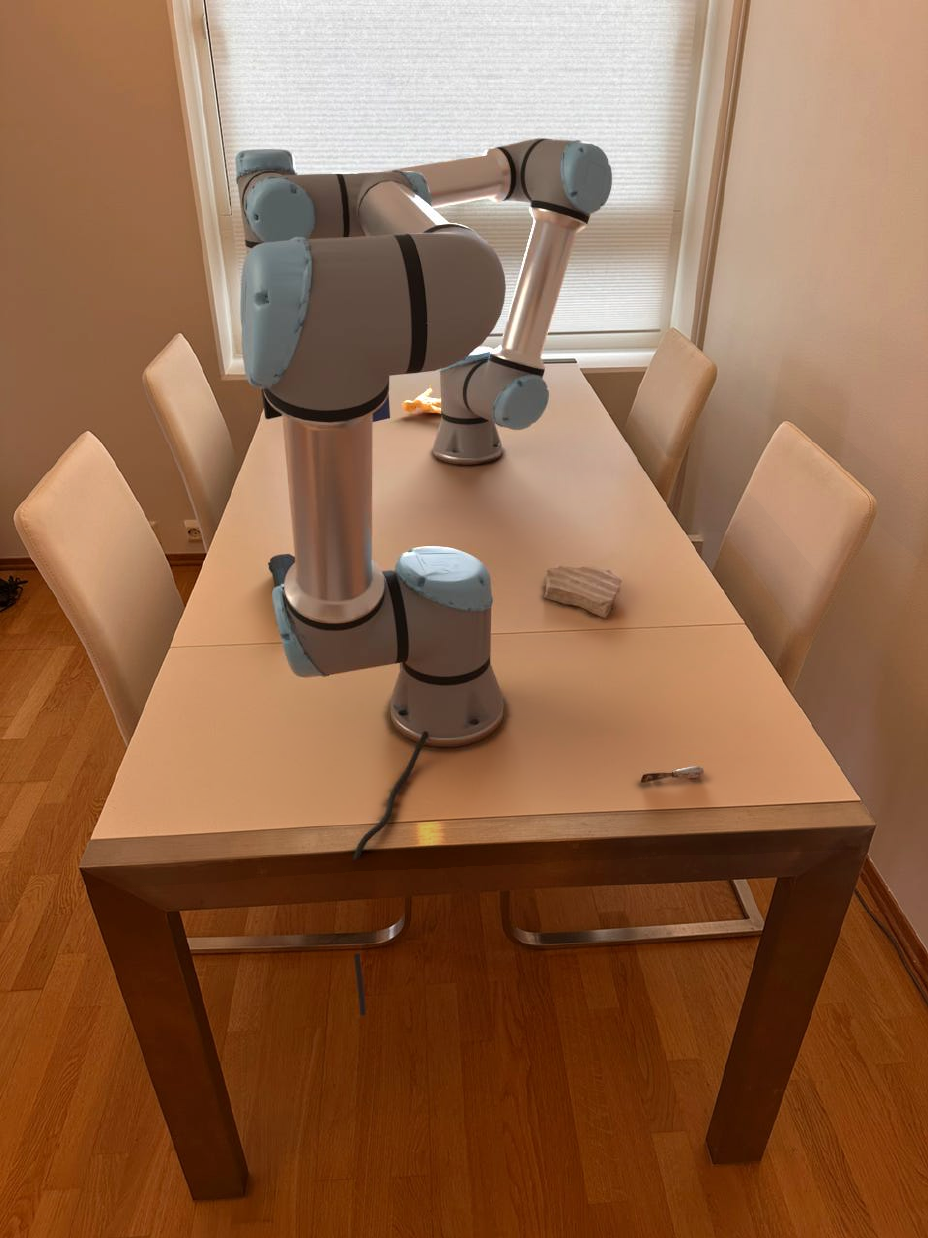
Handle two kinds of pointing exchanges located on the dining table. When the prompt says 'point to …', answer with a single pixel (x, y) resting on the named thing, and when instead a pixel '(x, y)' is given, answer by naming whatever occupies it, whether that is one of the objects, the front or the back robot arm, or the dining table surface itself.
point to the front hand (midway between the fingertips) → (294, 429)
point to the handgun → (280, 567)
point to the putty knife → (674, 774)
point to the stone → (583, 588)
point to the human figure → (423, 403)
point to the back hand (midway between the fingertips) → (360, 405)
